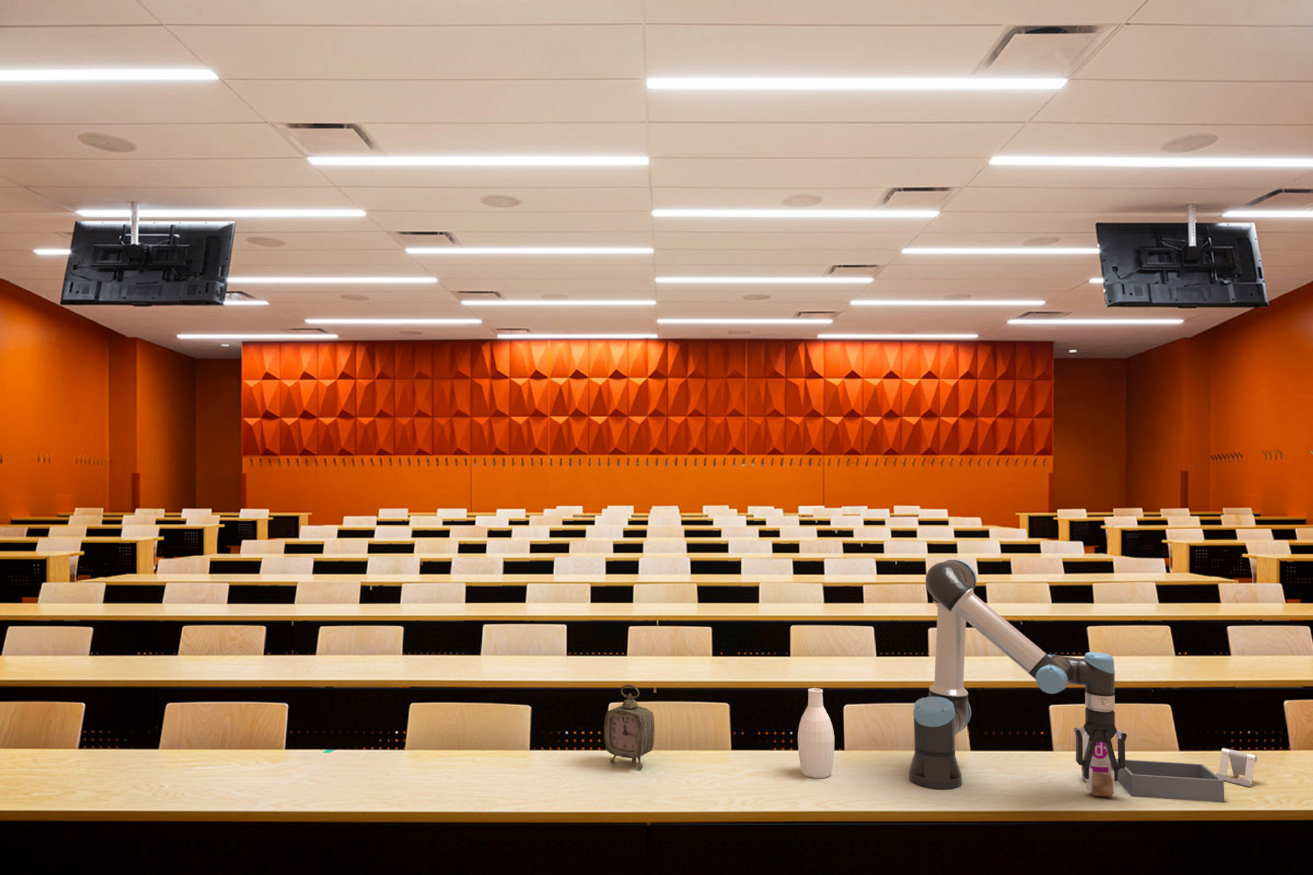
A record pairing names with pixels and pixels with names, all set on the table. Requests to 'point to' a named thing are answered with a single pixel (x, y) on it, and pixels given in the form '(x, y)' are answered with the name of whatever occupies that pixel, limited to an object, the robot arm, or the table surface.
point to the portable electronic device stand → (1237, 766)
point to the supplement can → (1097, 756)
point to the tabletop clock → (629, 730)
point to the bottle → (816, 738)
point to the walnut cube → (1102, 784)
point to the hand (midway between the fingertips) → (1100, 790)
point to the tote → (1171, 780)
